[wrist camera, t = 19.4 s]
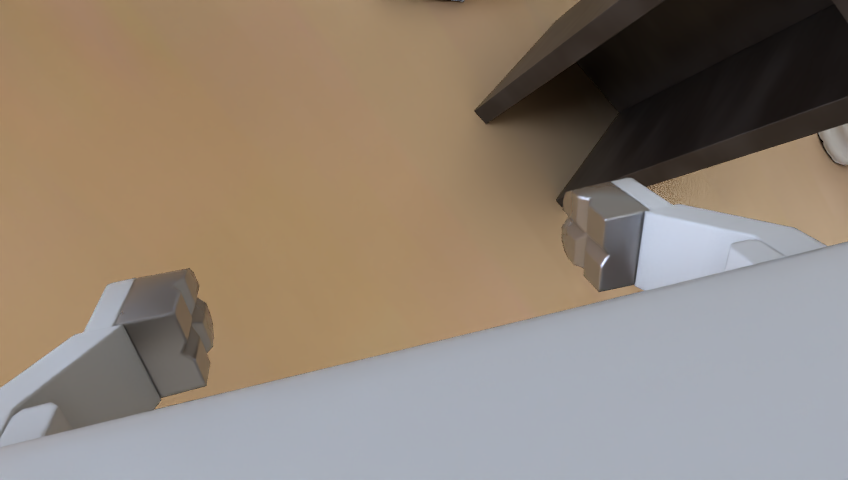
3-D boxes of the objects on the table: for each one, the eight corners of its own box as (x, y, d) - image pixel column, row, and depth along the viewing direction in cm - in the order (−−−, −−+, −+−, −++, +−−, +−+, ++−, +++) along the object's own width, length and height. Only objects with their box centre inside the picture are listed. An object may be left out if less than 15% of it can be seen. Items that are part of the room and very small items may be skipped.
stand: (473, 111, 44) (813, -149, 20) (556, 20, 49) (898, -268, 26) (566, 212, 46) (968, 86, 22) (635, 114, 51) (1015, -69, 28)
